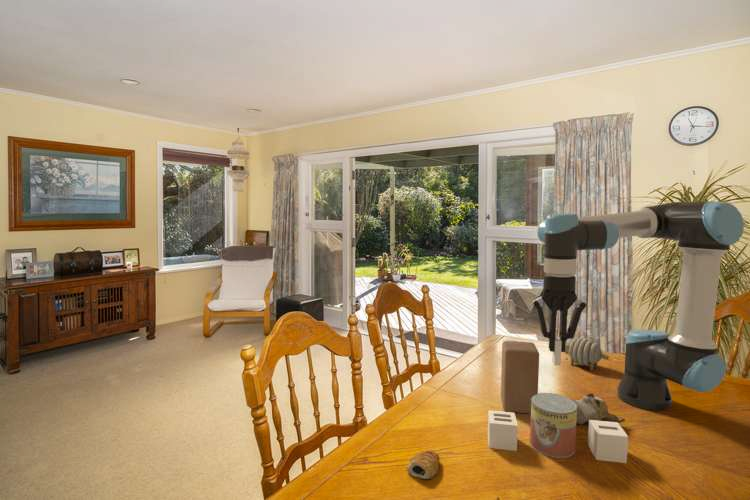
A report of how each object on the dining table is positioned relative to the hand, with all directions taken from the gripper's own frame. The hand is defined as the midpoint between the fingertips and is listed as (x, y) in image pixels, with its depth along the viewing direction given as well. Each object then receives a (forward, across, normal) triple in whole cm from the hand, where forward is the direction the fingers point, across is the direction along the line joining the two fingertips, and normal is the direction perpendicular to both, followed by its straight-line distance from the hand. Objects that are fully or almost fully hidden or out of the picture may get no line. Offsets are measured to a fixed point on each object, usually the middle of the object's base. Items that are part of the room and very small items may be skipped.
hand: (556, 363), depth 109 cm
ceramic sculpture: (+23, -14, -16) cm, 31 cm away
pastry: (+23, +33, +17) cm, 44 cm away
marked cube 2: (+23, -12, +1) cm, 26 cm away
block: (+23, +6, -21) cm, 32 cm away
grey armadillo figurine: (+23, -24, -61) cm, 69 cm away
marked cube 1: (+23, +14, +1) cm, 26 cm away
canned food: (+23, 0, 0) cm, 23 cm away
